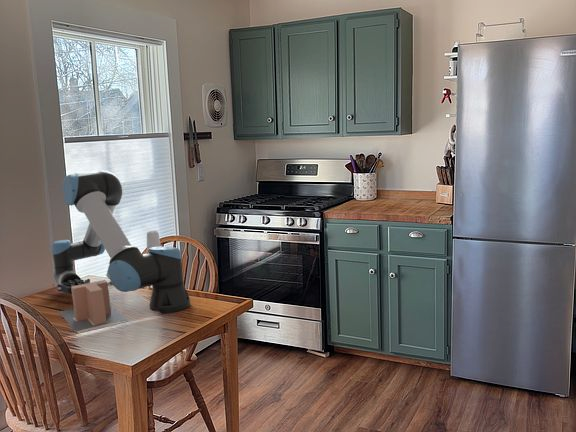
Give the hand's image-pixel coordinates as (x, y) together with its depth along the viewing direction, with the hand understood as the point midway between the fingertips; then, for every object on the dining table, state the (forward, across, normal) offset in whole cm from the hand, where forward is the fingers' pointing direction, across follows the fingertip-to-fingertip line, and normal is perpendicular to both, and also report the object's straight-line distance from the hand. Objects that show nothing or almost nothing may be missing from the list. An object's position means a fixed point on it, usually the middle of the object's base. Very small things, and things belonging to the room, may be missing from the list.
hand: (83, 293), depth 219 cm
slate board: (+10, 0, -7) cm, 12 cm away
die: (-38, -23, -8) cm, 45 cm away
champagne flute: (-15, -34, -8) cm, 38 cm away
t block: (+15, 0, -6) cm, 17 cm away
